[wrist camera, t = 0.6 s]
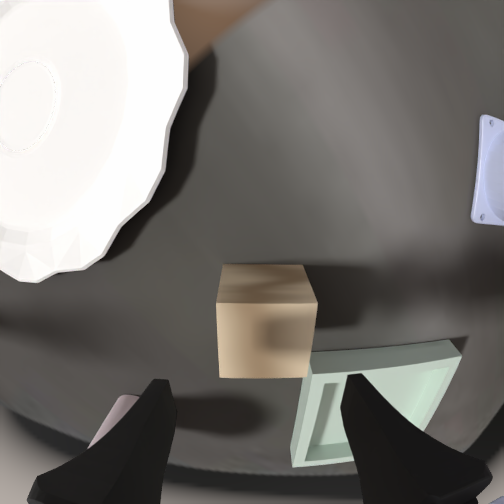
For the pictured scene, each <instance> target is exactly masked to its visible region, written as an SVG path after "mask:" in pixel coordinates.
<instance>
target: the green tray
mask: <svg viewBox="0 0 504 504" xmlns="http://www.w3.org/2000/svg"><path fill="white" fill-rule="evenodd" d="M461 358H462V355H461V354H460V352H459V351H458V350H457V349H456V347H455V346H454V345H453V344H452V343H451V341H450V340H449V339H447V340H440V341H433V342H425V343H417V344H409V345H400V346H391V347H380V348H369V349H356V350H340V351H321V352H311V355H310V361H309V367H308V373H307V377H303V381H302V387H301V393H300V398H299V404H298V410H297V415H296V421H295V426H294V431H293V436H292V441H291V446H290V450H291V459H292V467H302V466H314V465H324V464H332V463H340V462H347V461H354V458H353V455H352V452H351V449H350V446H349V443H348V439H347V436H346V433H345V430H344V426H343V421H342V416H341V410H340V405H341V401H342V397H343V392H344V388H345V384H346V379H347V375H349V374H357V373H362V374H363V375H364V376H365V377H366V378H367V379H368V380H369V382H370V383H371V384H372V385H373V386H374V387H375V388H376V389H377V390H378V391H379V392H380V394H381V395H382V396H383V397H384V398H385V399H386V400H387V401H388V402H389V403H390V404H391V405H392V406H393V407H394V408H395V409H396V410H397V411H399V412H400V413H401V414H402V415H403V416H404V417H405V418H406V419H408V420H409V421H410V422H411V423H412V424H414V425H415V426H416V427H418V428H419V429H420V430H422V431H424V429H425V428H426V426H427V424H428V423H429V421H430V419H431V417H432V416H433V414H434V412H435V410H436V409H437V407H438V405H439V403H440V401H441V399H442V397H443V395H444V393H445V391H446V389H447V387H448V385H449V383H450V381H451V379H452V377H453V375H454V373H455V371H456V369H457V367H458V364H459V362H460V360H461Z"/></svg>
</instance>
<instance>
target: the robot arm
mask: <svg viewBox="0 0 504 504" xmlns="http://www.w3.org/2000/svg"><path fill="white" fill-rule="evenodd" d="M490 122H491V125H490ZM481 215H482V217H481V219H480V216H481ZM471 220H472V221H473V222H475V223H481V224H491V225H501V226H504V121H502V120H500V119H497V118H494V117H492V116H489V115H481V117H480V132H479V151H478V164H477V174H476V183H475V191H474V199H473V206H472V212H471ZM340 410H341V416H342V421H343V426H344V430H345V433H346V436H347V439H348V443H349V446H350V449H351V452H352V455H353V458H354V461H355V464H356V467H357V471H358V475H359V478H360V484H361V490H362V495H363V503H364V504H478V500H477V498H476V496H477V495H479V494H480V493H481V492H482V491H483V490H484V489H485V488H486V487H487V486H488V485H489V484H490V482H491V481H492V478H493V476H492V474H491V472H490V470H489V468H488V466H487V465H486V463H485V461H483V460H480V459H477V458H474V457H471V456H469V455H465V454H463V453H461V452H459V451H456V450H454V449H452V448H450V447H448V446H446V445H444V444H443V443H441V442H439V441H437V440H436V439H434V438H432V437H431V436H429V435H427V434H426V433H425V432H423V431H422V430H420V429H419V428H418V427H416V426H415V425H414V424H412V423H411V422H410V421H409V420H408V419H406V418H405V417H404V416H403V415H402V414H401V413H400V412H399V411H397V410H396V409H395V408H394V407H393V406H392V405H391V404H390V403H389V402H388V401H387V400H386V399H385V398H384V397H383V396H382V395H381V394H380V392H379V391H378V390H377V389H376V388H375V387H374V386H373V385H372V384H371V383H370V382H369V380H368V379H367V378H366V377H365V376H364V375H363V374H362V373H357V374H349V375H347V379H346V384H345V388H344V392H343V397H342V401H341V405H340ZM176 416H177V410H176V407H175V403H174V399H173V396H172V392H171V388H170V384H169V380H164V379H154V380H152V382H151V383H150V384H149V386H148V387H147V388H146V389H145V391H144V392H143V393H142V395H141V396H140V397H139V398H138V400H137V401H136V402H135V403H134V405H133V406H132V407H131V408H130V409H129V410H128V412H127V413H126V414H125V415H124V416H123V417H122V418H121V419H120V420H119V421H118V422H117V423H116V425H115V426H114V427H113V428H112V429H111V430H110V431H109V432H107V433H106V434H105V435H104V436H103V437H102V438H101V439H100V440H98V441H97V442H96V443H95V444H93V445H92V446H91V447H90V448H88V449H87V450H86V451H84V452H83V453H81V454H80V455H78V456H77V457H75V458H73V459H72V460H70V461H68V462H67V463H65V464H63V465H62V466H59V467H57V468H56V469H53V470H51V471H48V472H46V473H44V474H41V475H39V476H37V478H36V480H35V482H34V484H33V486H32V488H31V491H30V493H29V495H28V498H27V502H28V503H29V504H160V500H161V491H162V483H163V477H164V473H165V469H166V465H167V461H168V457H169V453H170V449H171V445H172V441H173V437H174V433H175V425H176ZM489 504H504V496H501V497H500V498H498V499H496V500H494V501H492V502H491V503H489Z"/></svg>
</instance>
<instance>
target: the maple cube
mask: <svg viewBox="0 0 504 504" xmlns="http://www.w3.org/2000/svg"><path fill="white" fill-rule="evenodd" d="M317 307H318V302H317V300H316V297H315V295H314V292H313V290H312V287H311V285H310V282H309V280H308V277H307V275H306V272H305V270H304V267H303V265H270V264H223V268H222V273H221V279H220V284H219V290H218V296H217V301H216V310H217V333H218V354H219V372H220V378H295V377H307V373H308V367H309V361H310V355H311V348H312V342H313V335H314V328H315V321H316V314H317Z"/></svg>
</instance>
